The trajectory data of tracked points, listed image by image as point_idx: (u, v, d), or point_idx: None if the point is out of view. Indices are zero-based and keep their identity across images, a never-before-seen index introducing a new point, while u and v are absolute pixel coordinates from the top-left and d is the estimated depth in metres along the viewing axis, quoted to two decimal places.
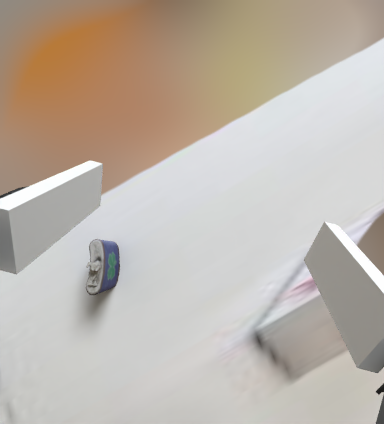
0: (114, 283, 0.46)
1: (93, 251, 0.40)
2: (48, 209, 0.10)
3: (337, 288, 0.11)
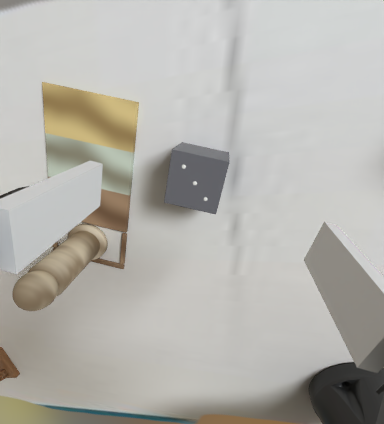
0: None
1: None
2: (48, 209, 0.10)
3: (337, 288, 0.11)
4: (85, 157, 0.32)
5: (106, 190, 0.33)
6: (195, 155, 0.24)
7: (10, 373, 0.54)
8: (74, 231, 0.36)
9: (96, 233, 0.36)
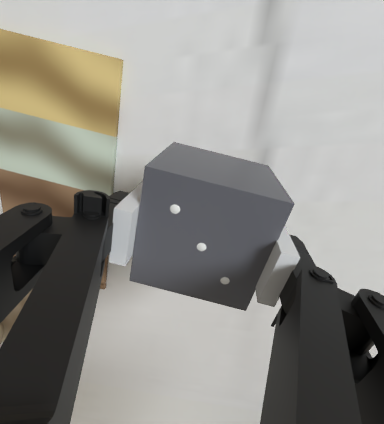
0: None
1: None
2: None
3: None
4: (46, 142, 0.22)
5: (78, 189, 0.24)
6: (206, 183, 0.09)
7: None
8: None
9: None
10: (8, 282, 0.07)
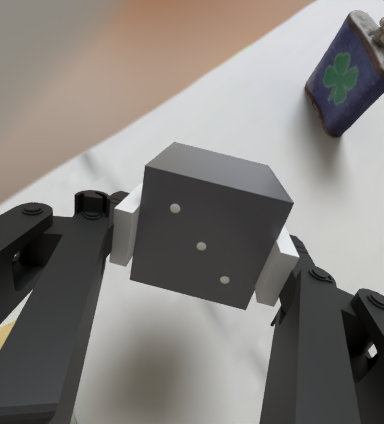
0: None
1: (359, 24, 0.24)
2: None
3: None
4: None
5: None
6: (205, 183, 0.09)
7: None
8: None
9: None
10: (9, 282, 0.07)
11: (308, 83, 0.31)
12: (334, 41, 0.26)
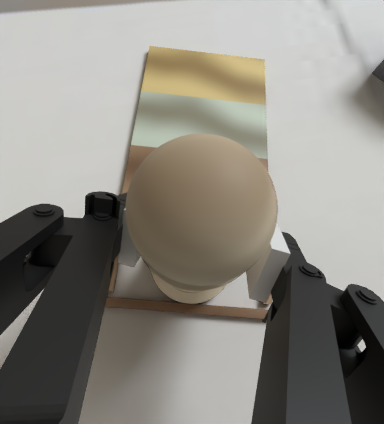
0: None
1: None
2: None
3: None
4: (198, 114, 0.22)
5: None
6: None
7: None
8: None
9: None
10: (19, 283, 0.07)
11: None
12: None
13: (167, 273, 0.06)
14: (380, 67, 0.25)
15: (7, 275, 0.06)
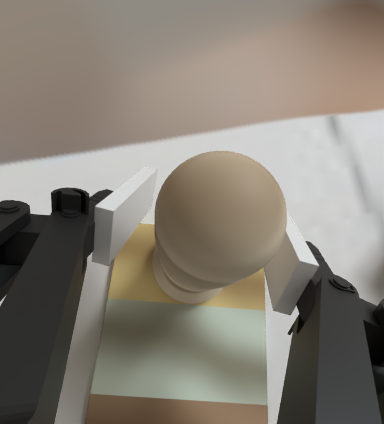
0: None
1: None
2: (129, 210, 0.11)
3: None
4: (179, 334, 0.17)
5: (219, 402, 0.16)
6: None
7: None
8: None
9: None
10: None
11: None
12: None
13: (194, 271, 0.07)
14: None
15: None
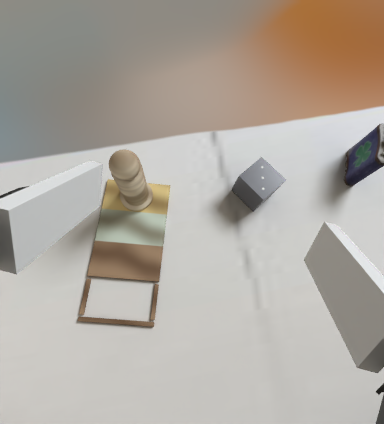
0: None
1: (382, 131, 0.44)
2: (48, 209, 0.10)
3: (337, 288, 0.11)
4: (130, 221, 0.43)
5: (144, 244, 0.42)
6: (271, 166, 0.43)
7: None
8: None
9: None
10: None
11: (349, 150, 0.52)
12: (369, 134, 0.46)
13: (116, 175, 0.33)
14: (233, 189, 0.47)
15: None
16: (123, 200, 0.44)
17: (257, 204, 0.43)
